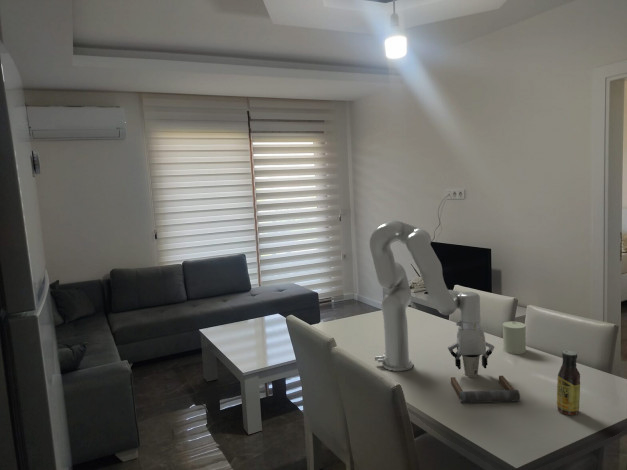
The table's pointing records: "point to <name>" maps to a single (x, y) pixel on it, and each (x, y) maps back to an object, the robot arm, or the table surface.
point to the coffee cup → (471, 365)
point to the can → (514, 337)
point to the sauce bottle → (568, 385)
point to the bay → (487, 393)
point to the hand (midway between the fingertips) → (471, 367)
